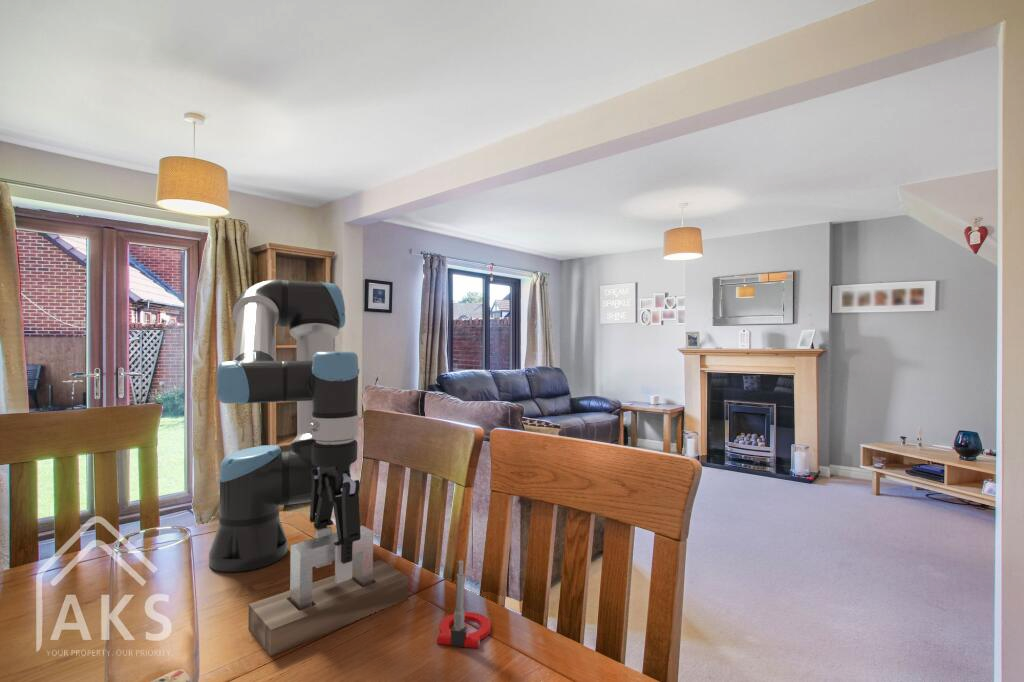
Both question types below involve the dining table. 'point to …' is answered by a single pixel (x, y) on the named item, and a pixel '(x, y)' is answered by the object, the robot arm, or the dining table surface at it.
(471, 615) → the tow hook
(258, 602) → the slotted wooden block
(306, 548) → the clip
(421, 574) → the dining table surface
